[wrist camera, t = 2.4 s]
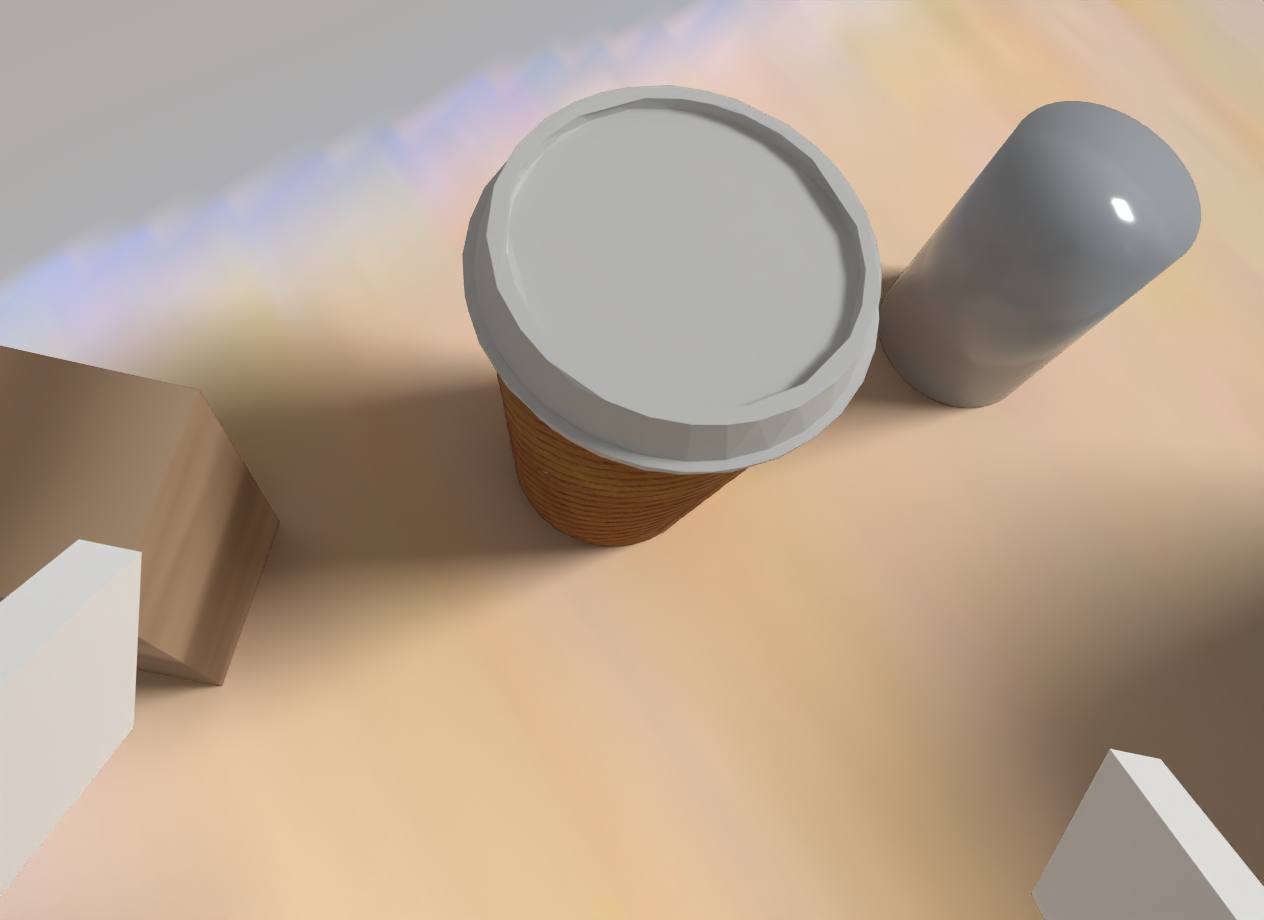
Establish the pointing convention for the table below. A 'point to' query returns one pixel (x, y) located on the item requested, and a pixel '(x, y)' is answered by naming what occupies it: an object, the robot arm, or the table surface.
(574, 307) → the disposable coffee cup
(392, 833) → the table surface
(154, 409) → the walnut block
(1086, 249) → the grey rounded cylinder
